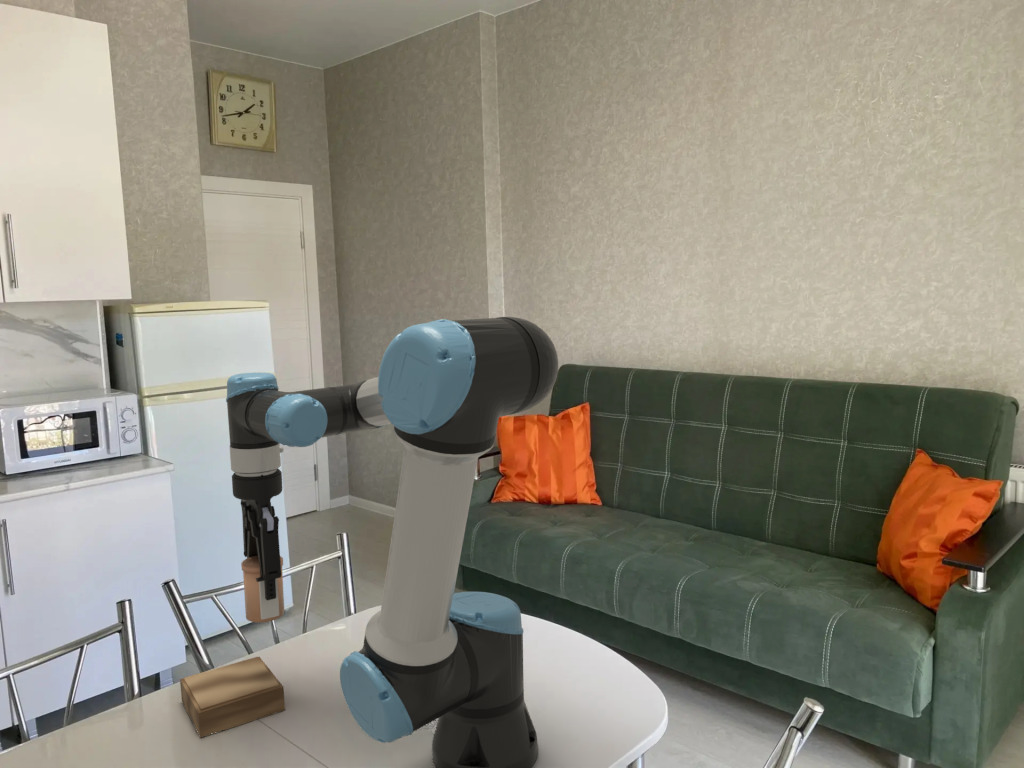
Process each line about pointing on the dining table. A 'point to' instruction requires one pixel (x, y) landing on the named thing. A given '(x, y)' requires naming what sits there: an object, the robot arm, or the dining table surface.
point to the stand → (231, 695)
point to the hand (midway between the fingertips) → (264, 609)
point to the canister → (252, 590)
